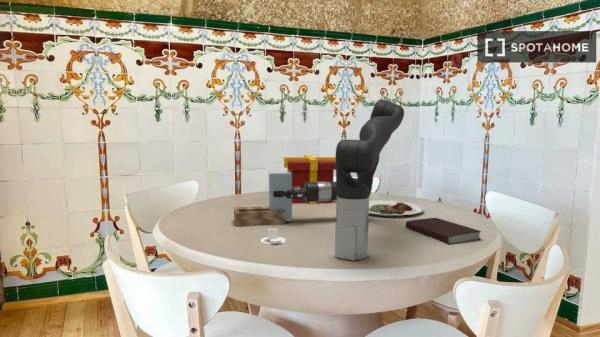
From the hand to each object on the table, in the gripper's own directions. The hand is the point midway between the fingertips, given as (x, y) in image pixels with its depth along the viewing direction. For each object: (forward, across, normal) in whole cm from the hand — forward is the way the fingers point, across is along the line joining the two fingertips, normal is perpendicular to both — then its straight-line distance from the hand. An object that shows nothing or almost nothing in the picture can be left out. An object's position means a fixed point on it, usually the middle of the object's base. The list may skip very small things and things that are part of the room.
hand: (273, 193), depth 162 cm
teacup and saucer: (+6, +25, +12) cm, 28 cm away
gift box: (-25, -42, +12) cm, 50 cm away
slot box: (+5, -2, +11) cm, 12 cm away
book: (-54, +26, +12) cm, 62 cm away
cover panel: (-3, 0, +10) cm, 11 cm away
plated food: (-52, -13, +12) cm, 54 cm away
